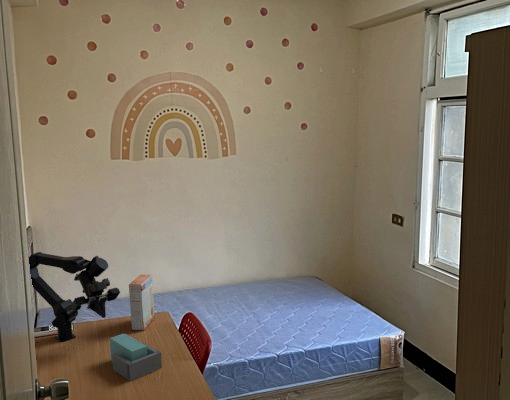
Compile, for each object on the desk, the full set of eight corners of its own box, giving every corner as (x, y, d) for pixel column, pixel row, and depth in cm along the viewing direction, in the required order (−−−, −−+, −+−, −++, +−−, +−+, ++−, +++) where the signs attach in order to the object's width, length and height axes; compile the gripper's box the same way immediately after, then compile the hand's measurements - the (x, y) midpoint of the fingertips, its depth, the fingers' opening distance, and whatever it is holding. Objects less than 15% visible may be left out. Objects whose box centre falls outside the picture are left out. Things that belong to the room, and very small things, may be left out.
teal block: (111, 360, 187) (109, 338, 186) (125, 355, 191) (124, 333, 190) (133, 375, 176) (132, 351, 174) (148, 369, 180) (146, 346, 179)
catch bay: (112, 369, 180) (111, 354, 179) (143, 357, 189) (143, 342, 188) (130, 381, 172) (129, 364, 171) (161, 367, 181) (161, 352, 180)
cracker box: (142, 318, 228) (140, 273, 225) (155, 318, 227) (152, 274, 224) (130, 330, 214) (128, 283, 211) (144, 331, 213) (141, 284, 210)
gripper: (72, 278, 188) (88, 313, 182) (116, 268, 202) (132, 300, 196) (64, 293, 195) (79, 328, 189) (107, 282, 208) (122, 314, 202)
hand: (104, 317), depth 194 cm, fingers closed
